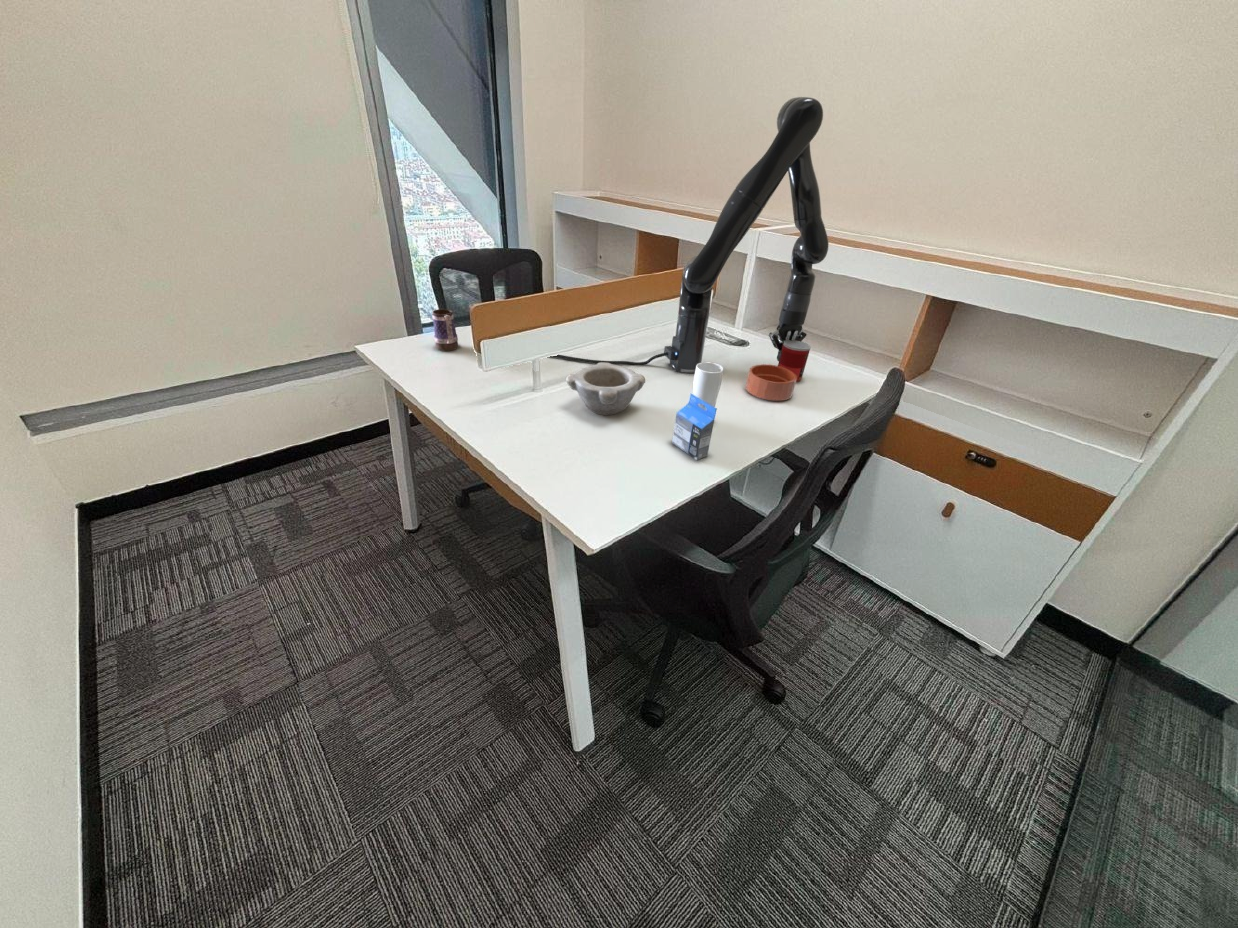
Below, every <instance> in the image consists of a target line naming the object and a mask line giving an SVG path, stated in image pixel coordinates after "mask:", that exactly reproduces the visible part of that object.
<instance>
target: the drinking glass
mask: <svg viewBox="0 0 1238 928" xmlns="http://www.w3.org/2000/svg"><path fill="white" fill-rule="evenodd" d="M723 376H724V367H723V366H722V365H721V364H718V363H714V362H710V361H702V363H699V364H697V365H696V370H695V373H694V375H693V383H692V394H693V395H694V396H696V397H698V398H700V399H701V400H703V401H705V402H706V403H708V404H710V405H711V406H713V407H715V408H716V405H717V404H716V403H717V400H718V398H719V397H718V396H719V393H720V390H721V387H722V381H723ZM698 406H700V407H701V408H703V409H705V410H707V409H706V408H705V407H704V406H703V404H702V405H700V404H698Z"/></svg>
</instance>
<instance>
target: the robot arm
mask: <svg viewBox="0 0 1238 928" xmlns="http://www.w3.org/2000/svg"><path fill="white" fill-rule="evenodd" d="M823 120H824V109H823V106H822V104H821V102H820V100H818V99H816V98H813V97H809V96H796V97H792V98H790V99H788V100H787V101H785V103H783V105H782V106H781V108H780V109H779V111H778V113H777V117H776V129H777V134H776V136H775V137H774V138H773V141H772V142H771V144H770V145H769V147H768V149H767V150H766V151H765V153H764V154H763V155H762V156H761V158H760V159H759V160H758V161H757V162H756V163H755V164H754V165H753V166H752V167H751V168H750V169H749V170H748V171H747V172H746V174H744V176H743V177H742V178H741V179H740V181H739V182H738V183H737V185H736V186H735V188H733V191H732V193H730V196H729V197H728V199H727V200H726V202H725V204H724V206H723V208H722V210H721V211H720V214H719V216H718V218H717V220H716V223H715V225H714V227H713V230H712V232H711V234H710V236H709V238H708V240H707V241H706V243H705V244H704V246H703V247H702V249H701V250H700V252H699V253H698V254H697V255H694V256H691V257H690V258H689V259H688V260H687V261H686V263H685V264H684V267H683V269H682V274H681V275H682V276H681V284H680V292H679V301H678V312H677V321H676V327H675V335H673V336H672V339H671V345H669V346H668V345H666V346H664V348H663V352H661V353H657V354H655V355H653V356H651V357H649V358H648V359H647V360H645V361H639V362H638V361H637V362H635V361H628V360H601V359H600V360H599V359H590V358H589V359H588V358H581V357H575V356H569V355H564V354H558V355H557V356H553V357H552V358H556V359H557V358H559V359H564V360H568V361H576V362H581V363H582V362H583V363H589V364H598V363H601V362H605V363H610V364H613V365H628V366H644V365H648V364H650V363H651V362H653V361H654V360H656V359H658V358H662V357H666V358H667V359H668V360H669V364H668V365H669V367H671V368H672V369H673V370H674V371H675V372H676V373H685V374H695V370H696V365H697V364H699V363H702V362H703V355H704V349H705V343H706V336H707V330H708V325H709V319H710V312H711V301H712V293H713V287H714V285H715V283H716V281H717V280H718V277H719V276H720V274H721V273H722V270H723V269H724V267H725V265H726V264H727V261H728V259H729V258H730V256H731V255H732V253H733V252H734V250H735V249H736V248H737V247H738V246H739V244H740V243H741V242H742V240H743V239H744V238H745V236H746V234H747V233H748V232H749V230H750V229H751V228H752V226H753V225H754V223H756V221H757V219H758V218H759V216H760V215H761V213H762V212H763V210H764V209H765V208H766V206H767V204H768V202H769V201H770V199H771V197H772V196H773V195H774V194H775V192H776V190H777V189H778V187H779V186H780V184H781V182H782V181H783V180H784V178H785V176H786V174H788V181H789V188H790V195H791V196H790V197H791V204H792V213H793V223H794V226H795V228H796V229H797V230H798V231H799V233H800V236H798V238H797V239H796V241H795V242H794V244H793V246H792V249H791V258H790V259H791V261H790V277H789V280H788V284H787V289H786V293H785V294H784V298H783V301H782V304H781V305H782V306H781V309H780V313H779V317H778V323H779V324H778V325H777V326H776V330H774V331H773V332H769V333H768V337H769V339H770V341H771V344H772V345H773V348H775V349H777V355H776V360H777V362H779V359H780V355H781V351H782V347H783V344H784V342H785V341H789V340H791V341H794V340H796V341H801V342H803V340H804V339H805V338H806V337H807V335H808V334H807V333H806V332H804V331H803V325H804V324H805V323H806V322H805V321H806V318H807V314H808V311H809V307H810V303H811V298H812V293H813V290H814V286H815V282H816V273H815V272H814V270H813V265H817V264H820V263H822V262H823V261H824V260H825V258H826V257H827V255H828V252H829V243H830V242H829V238H828V237H829V236H828V233H827V230H826V226H825V223H824V220H823V218H822V203H821V201H822V200H821V194H820V187H819V183H818V179H817V176H816V172H815V169H814V166H813V160H812V154H811V153H812V152H811V142H812V141H813V140H814V138H815V136H816V135H818V134H817V133H819V130H820V128H821V127H822V124H823Z"/></svg>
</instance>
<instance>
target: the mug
mask: <svg viewBox="0 0 1238 928" xmlns="http://www.w3.org/2000/svg"><path fill="white" fill-rule="evenodd" d="M431 315H432V322H433V332H434V336H433V337H434V342H435V348H436V350H438V351H441V352H450V351H455V350H457V349H458V348H459V342H458V341H459V339H458V338H459V337H458V334H457V330H456V324H455V317H454V313H453V310H452V309H450V308H449V309H447V308H439V309H435V310H433V311H432V314H431Z"/></svg>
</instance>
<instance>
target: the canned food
mask: <svg viewBox="0 0 1238 928" xmlns="http://www.w3.org/2000/svg"><path fill="white" fill-rule="evenodd" d="M810 350H811V345H810V344H809V343H807V342H804V341H796V340H794V341H791V340H789V341H785V342H784V344H783V347H782V351H781V355H780V359H779V361H778V363H777V366H780V367H783V368H786V369H788V370H790V371H792V372H793V373H795V374H796V376H797V380H796V383H799V382H800V381H801V380H802V379H803V376H804V372H805V368H806V365H807V362H808V358H809V355H810Z"/></svg>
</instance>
